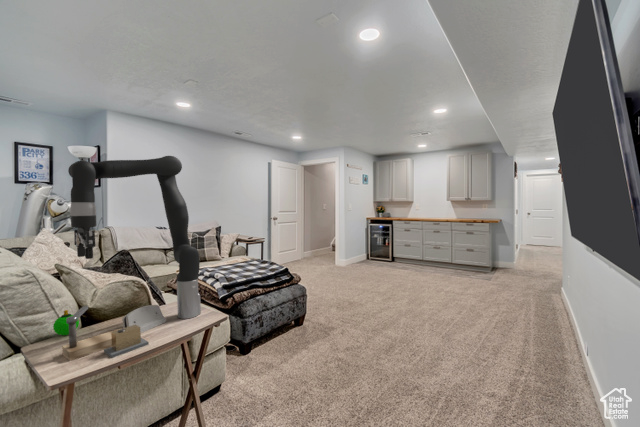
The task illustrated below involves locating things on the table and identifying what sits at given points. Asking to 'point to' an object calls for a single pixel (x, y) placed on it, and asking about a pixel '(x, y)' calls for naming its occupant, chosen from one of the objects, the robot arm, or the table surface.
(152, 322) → the grey upright curved plate
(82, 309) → the lever
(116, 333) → the tan rectangular block
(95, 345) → the wooden base stand
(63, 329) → the ornament
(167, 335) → the table surface
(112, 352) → the mat
